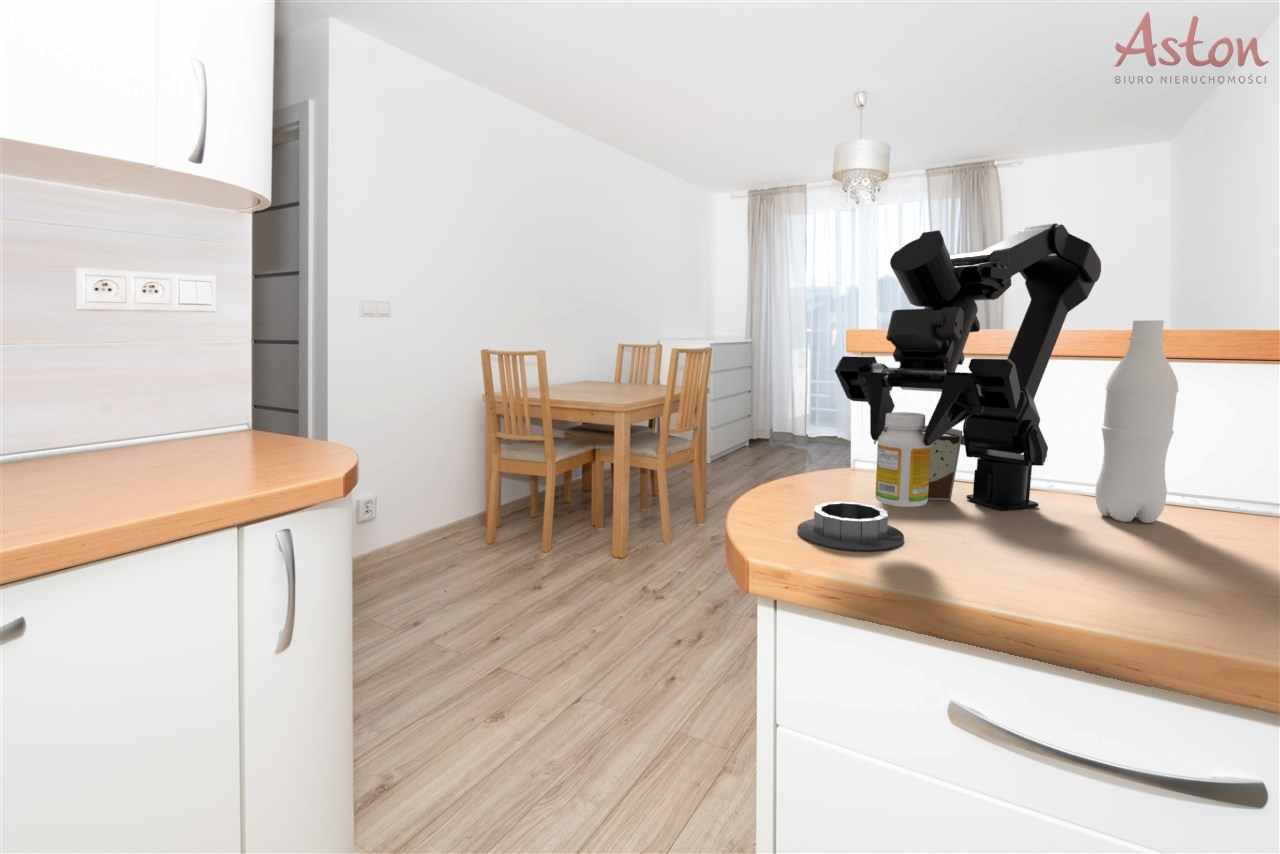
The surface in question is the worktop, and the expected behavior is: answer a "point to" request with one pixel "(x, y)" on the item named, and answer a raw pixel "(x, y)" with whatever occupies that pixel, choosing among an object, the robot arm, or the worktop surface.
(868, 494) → the worktop surface
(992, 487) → the robot arm
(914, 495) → the supplement bottle
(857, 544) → the ring collar
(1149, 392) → the water bottle
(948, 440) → the food container
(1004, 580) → the worktop surface
